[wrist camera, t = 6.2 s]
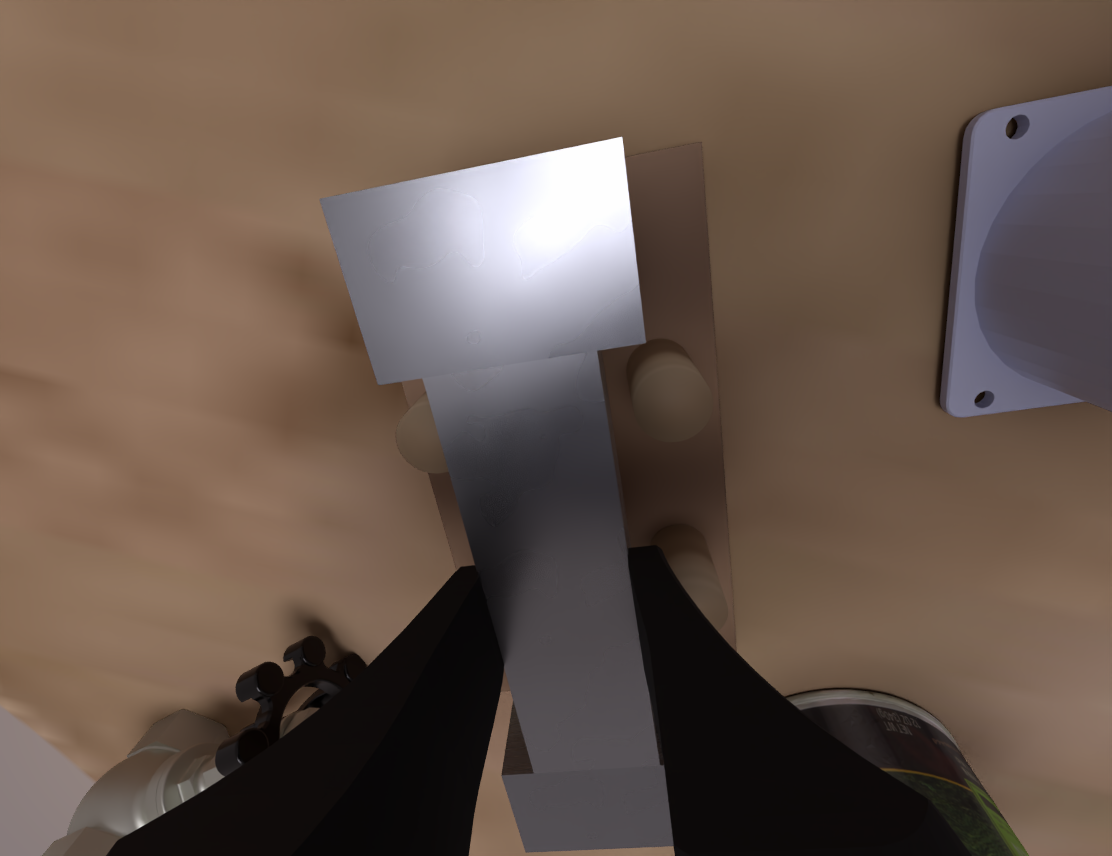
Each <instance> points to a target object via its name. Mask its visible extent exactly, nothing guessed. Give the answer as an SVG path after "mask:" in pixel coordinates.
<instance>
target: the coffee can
mask: <svg viewBox="0 0 1112 856" xmlns="http://www.w3.org/2000/svg"><path fill="white" fill-rule="evenodd" d="M786 699H787V700H789V701H790V702H791V703H792V704H794V705H795V706H796V707H797V708H799V709H800V710H801V711H802V712H804V713H805V714H806V715H807V716H808V717H810V718H811V719H812V720H813V721H815V722H816V723H817V724H818V725H820V726H821V727H822V728H823V729H825V730H826V731H827V732H828V733H830V734H831V735H833V736H834V737H835V738H837V739H838V740H839V741H841V742H842V743H844V744H845V745H846V746H848V747H849V748H851V749H852V750H853V751H855V752H856V753H858V754H859V755H860V756H862V757H863V758H865V759H866V760H868V761H869V762H871V763H872V764H874V765H875V766H877V767H879V768H880V769H882V770H883V771H885V772H887V773H888V774H890V775H891V776H893V777H894V778H896V779H898V780H899V781H901V782H902V783H904V784H906V785H907V786H909V787H910V788H912V789H914V790H915V791H917V792H918V793H920V794H921V795H923V796H925V797H926V798H928V799H929V800H930V801H931V802H932V803H933V804H934V805H935V807H936V808H937V809H938V810H939V812H940V813H941V814H942V816H943V817H944V818H945V820H946V821H947V822H948V823H949V825H950V826H951V827H952V829H953V830H954V831H955V833H956V834H957V835H958V837H959V838H960V840H961V841H962V842H963V844H964V845H965V846H966V848H967V849H968V851H969V852H970V853H971V855H972V856H1029V855H1028V853H1027V852H1026V850H1025V849H1024V847H1023V845H1022V844H1021V843H1020V841H1019V840H1018V838H1017V837H1016V835H1015V834H1014V832H1013V831H1012V829H1011V828H1010V826H1009V825H1008V823H1007V821H1006V820H1005V819H1004V817H1003V816H1002V814H1001V813H1000V811H999V810H998V808H997V806H996V805H995V803H994V801H993V800H992V799H991V797H990V796H989V795H988V793H987V792H986V790H985V789H984V787H983V786H982V784H981V783H980V781H979V780H978V778H977V777H976V775H975V774H974V772H973V770H972V769H971V768H970V766H969V765H968V763H967V762H966V760H965V758H964V757H963V755H962V754H961V752H960V749H959V747H958V745H957V744H956V742H955V740H954V738H953V736H952V735H951V734H950V732H949V731H948V730H947V729H946V728H945V727H944V725H943V724H942V723H941V722H940V721H939V720H937V719H936V718H935V717H933V716H932V715H931V714H929V713H928V712H926V711H925V710H923V709H921V708H920V707H918V706H916V705H914V704H912V703H910V702H907V701H905V700H903V699H900V698H897V697H894V696H891V695H887V694H882V693H877V692H871V691H861V690H851V689H830V690H821V691H813V692H807V693H802V694H798V695H794V696H790V697H786Z"/></svg>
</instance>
